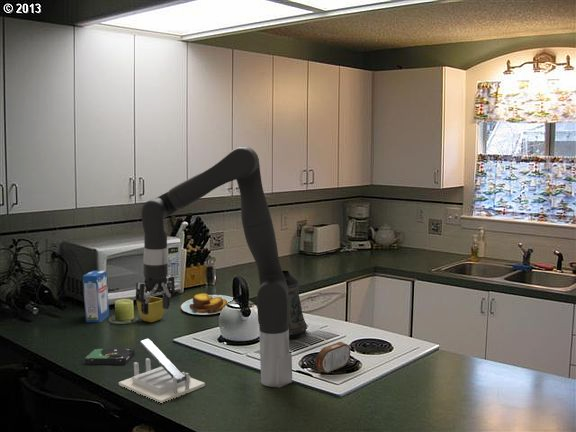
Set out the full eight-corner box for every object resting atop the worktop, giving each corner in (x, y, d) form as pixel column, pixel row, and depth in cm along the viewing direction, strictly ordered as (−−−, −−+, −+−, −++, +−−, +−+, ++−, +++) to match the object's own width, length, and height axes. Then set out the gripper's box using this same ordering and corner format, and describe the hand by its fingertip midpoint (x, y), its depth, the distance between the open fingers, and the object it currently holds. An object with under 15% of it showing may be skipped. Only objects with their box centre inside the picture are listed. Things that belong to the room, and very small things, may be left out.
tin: (345, 362, 222) (345, 338, 221) (352, 364, 220) (352, 340, 219) (315, 374, 212) (314, 349, 211) (322, 377, 210) (322, 352, 208)
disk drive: (135, 355, 235) (95, 354, 236) (134, 348, 235) (94, 347, 236) (125, 366, 225) (84, 365, 226) (125, 358, 224) (83, 357, 226)
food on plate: (249, 308, 290) (248, 294, 289) (204, 321, 273) (203, 306, 272) (214, 298, 308) (213, 284, 307) (170, 309, 291) (169, 295, 290)
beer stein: (298, 325, 263) (297, 265, 260) (315, 340, 245) (314, 275, 242) (259, 330, 258) (257, 269, 255) (273, 345, 240) (271, 279, 236)
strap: (185, 381, 199) (186, 378, 199) (177, 384, 197) (178, 381, 197) (147, 341, 211) (148, 338, 210) (140, 343, 208) (140, 340, 208)
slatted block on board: (204, 385, 205) (204, 368, 204) (161, 403, 192) (160, 385, 191) (162, 369, 219) (161, 353, 218) (118, 385, 207) (117, 367, 206)
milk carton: (95, 315, 285) (92, 270, 282) (109, 315, 284) (106, 270, 281) (85, 322, 275) (82, 275, 272) (99, 322, 274) (96, 276, 271)
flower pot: (152, 316, 281) (151, 296, 280) (166, 319, 276) (165, 298, 275) (137, 321, 274) (135, 300, 273) (151, 324, 269) (150, 303, 268)
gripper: (146, 267, 197) (146, 318, 200) (180, 259, 208) (180, 308, 211) (130, 263, 202) (130, 313, 204) (164, 256, 213) (164, 304, 215)
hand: (155, 311), depth 207 cm, fingers open, 8 cm apart
